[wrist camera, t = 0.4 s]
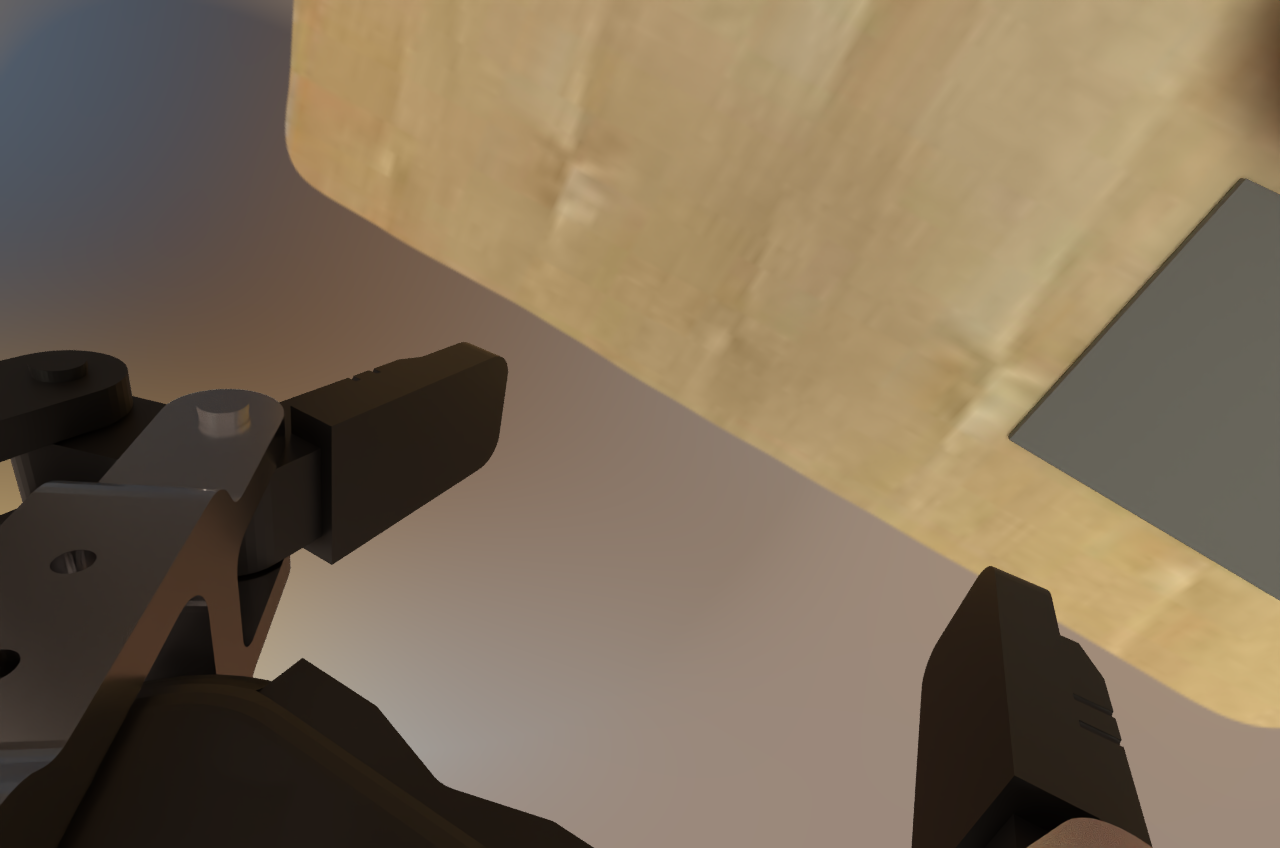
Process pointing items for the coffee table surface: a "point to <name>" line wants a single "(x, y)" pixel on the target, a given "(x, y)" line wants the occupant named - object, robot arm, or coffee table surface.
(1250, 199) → the mat
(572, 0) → the coffee table surface
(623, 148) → the coffee table surface
